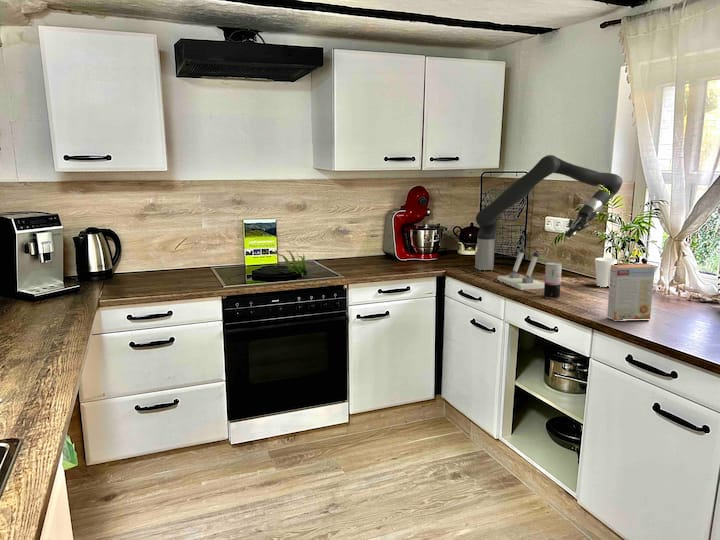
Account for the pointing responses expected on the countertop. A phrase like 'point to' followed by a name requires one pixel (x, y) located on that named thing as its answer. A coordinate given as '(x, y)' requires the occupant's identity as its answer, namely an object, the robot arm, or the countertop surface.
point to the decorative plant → (296, 269)
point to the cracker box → (630, 291)
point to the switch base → (521, 281)
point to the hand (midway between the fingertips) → (567, 236)
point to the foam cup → (603, 270)
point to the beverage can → (552, 280)
